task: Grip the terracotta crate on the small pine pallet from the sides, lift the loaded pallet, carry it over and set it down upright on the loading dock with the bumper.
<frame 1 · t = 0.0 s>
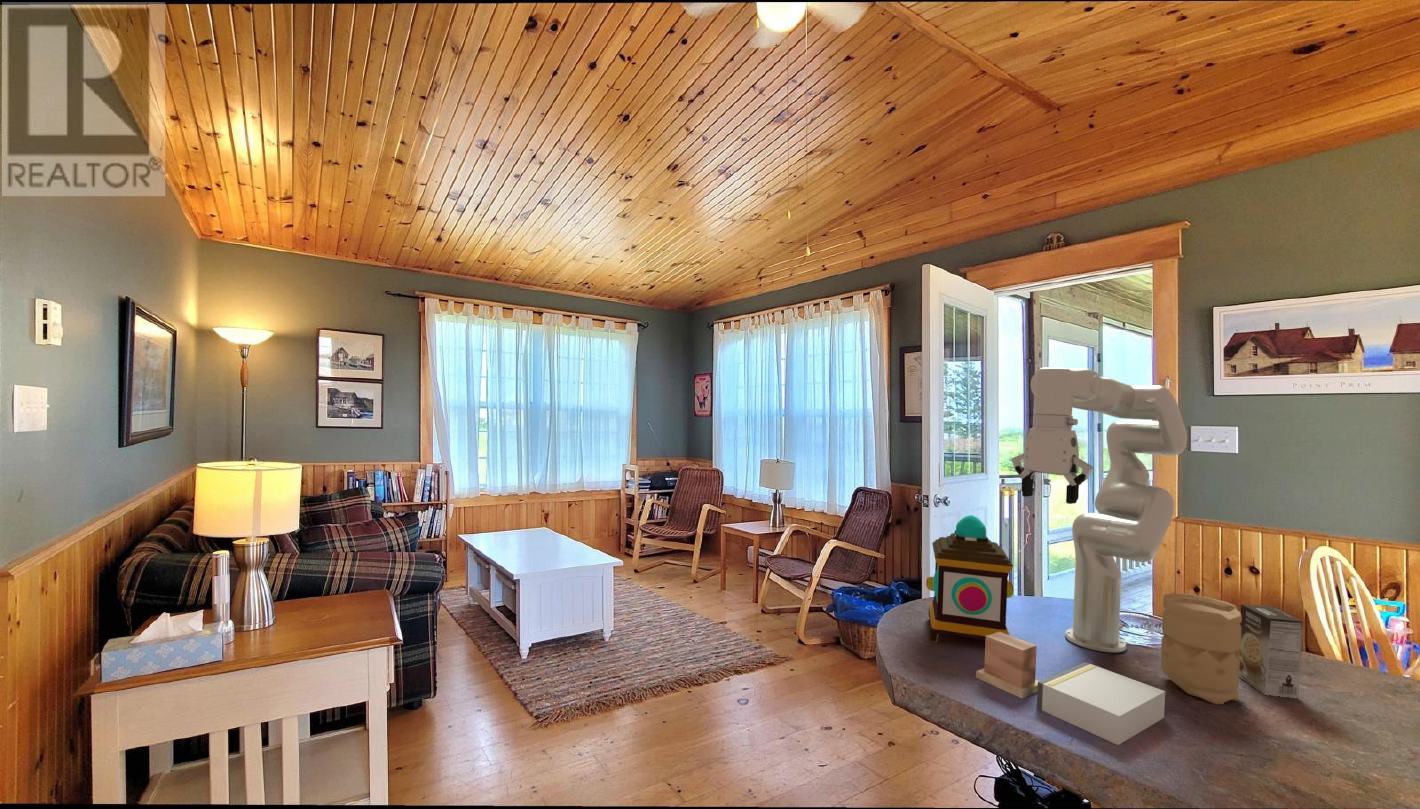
hand: (1048, 499, 134), 37 cm above the counter, tool pointing down, fingers open, 9 cm apart
loaded pallet: (1009, 683, 125), on the counter
dock: (1102, 713, 113), on the counter
coffee box: (1267, 688, 127), on the counter
decorative lantern: (966, 636, 149), on the counter
container: (1197, 690, 125), on the counter
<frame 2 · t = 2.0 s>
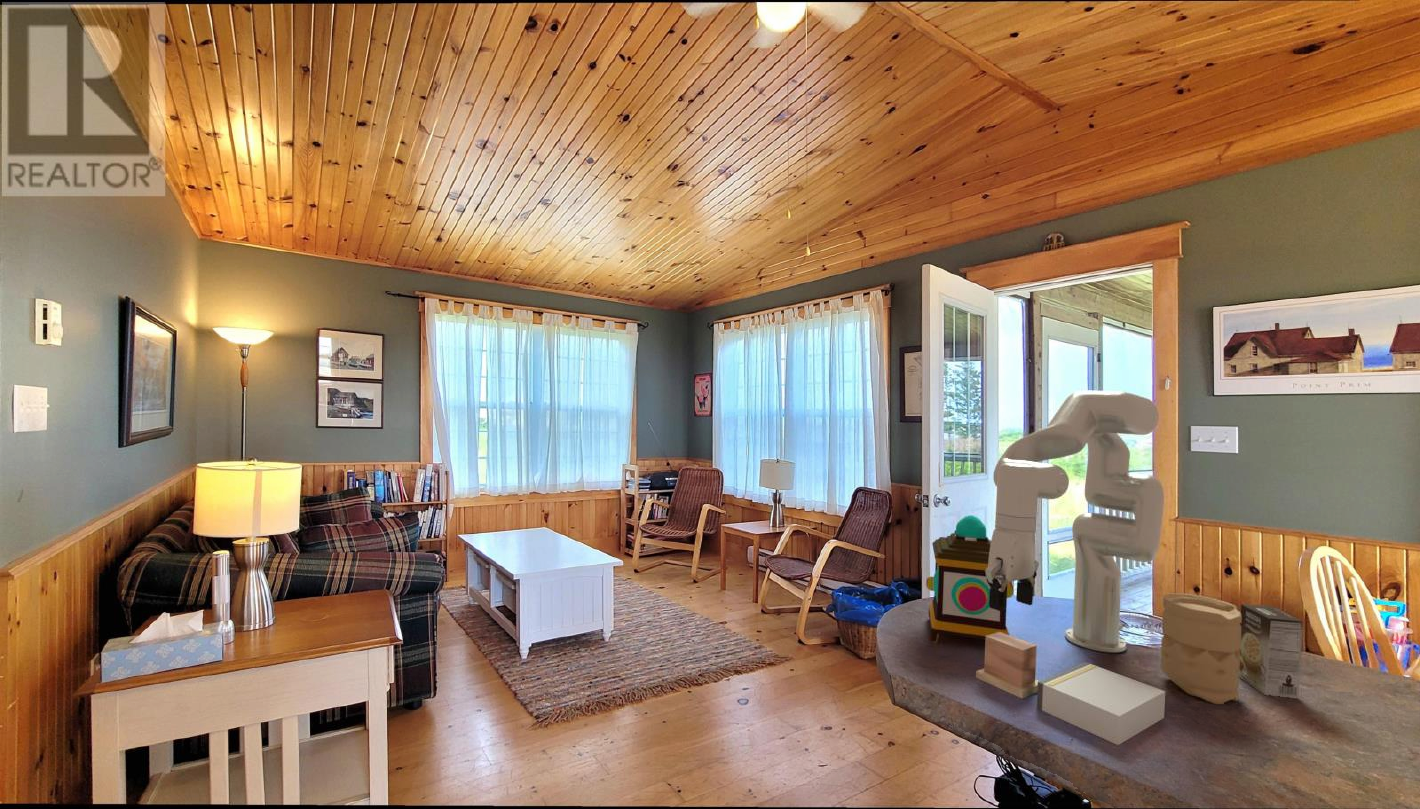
hand: (1010, 606, 124), 16 cm above the counter, tool pointing down, fingers open, 9 cm apart
nothing on the counter moved.
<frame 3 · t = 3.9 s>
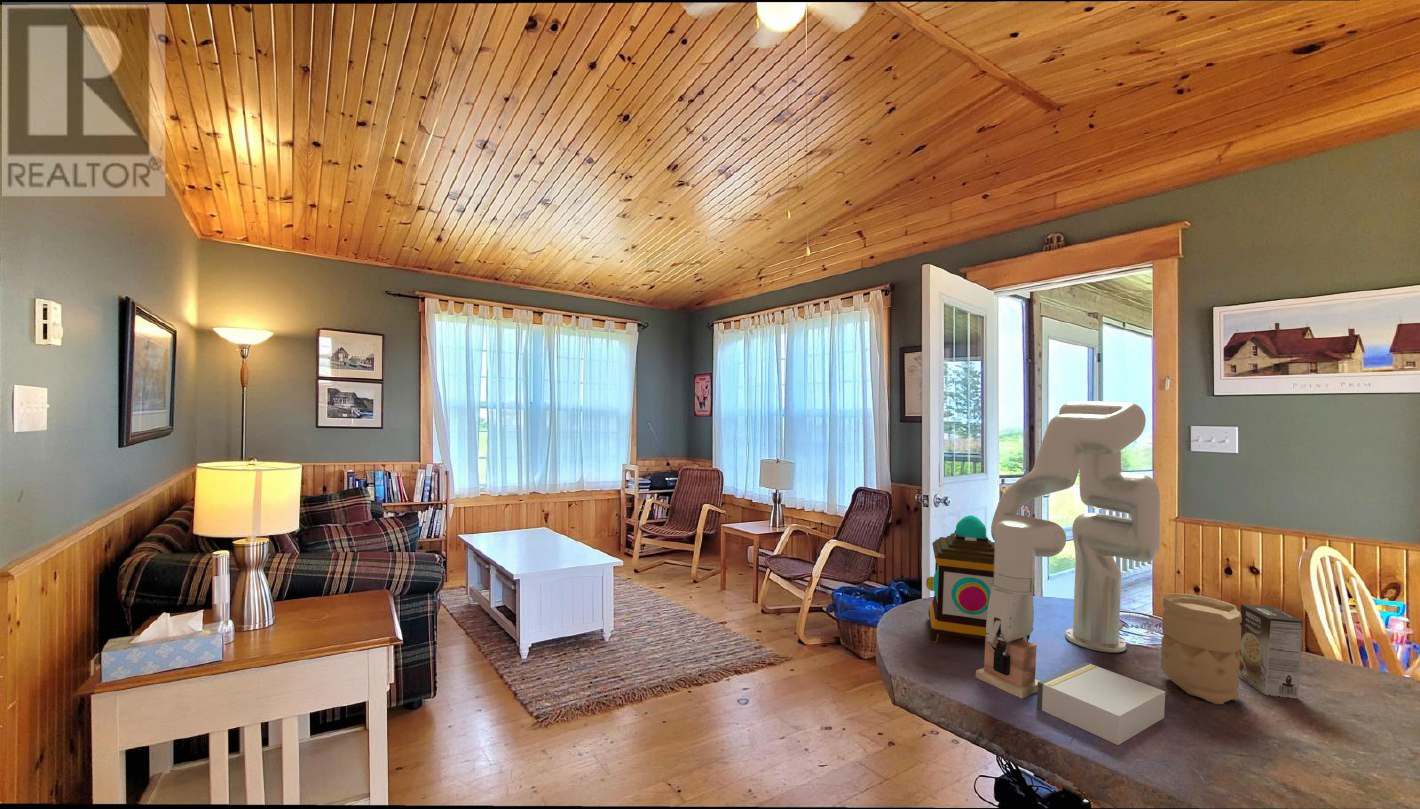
hand: (1009, 668, 124), 3 cm above the counter, tool pointing down, fingers closed on loaded pallet, 5 cm apart
loaded pallet: (1008, 683, 124), on the counter, touching gripper
everything else where it was.
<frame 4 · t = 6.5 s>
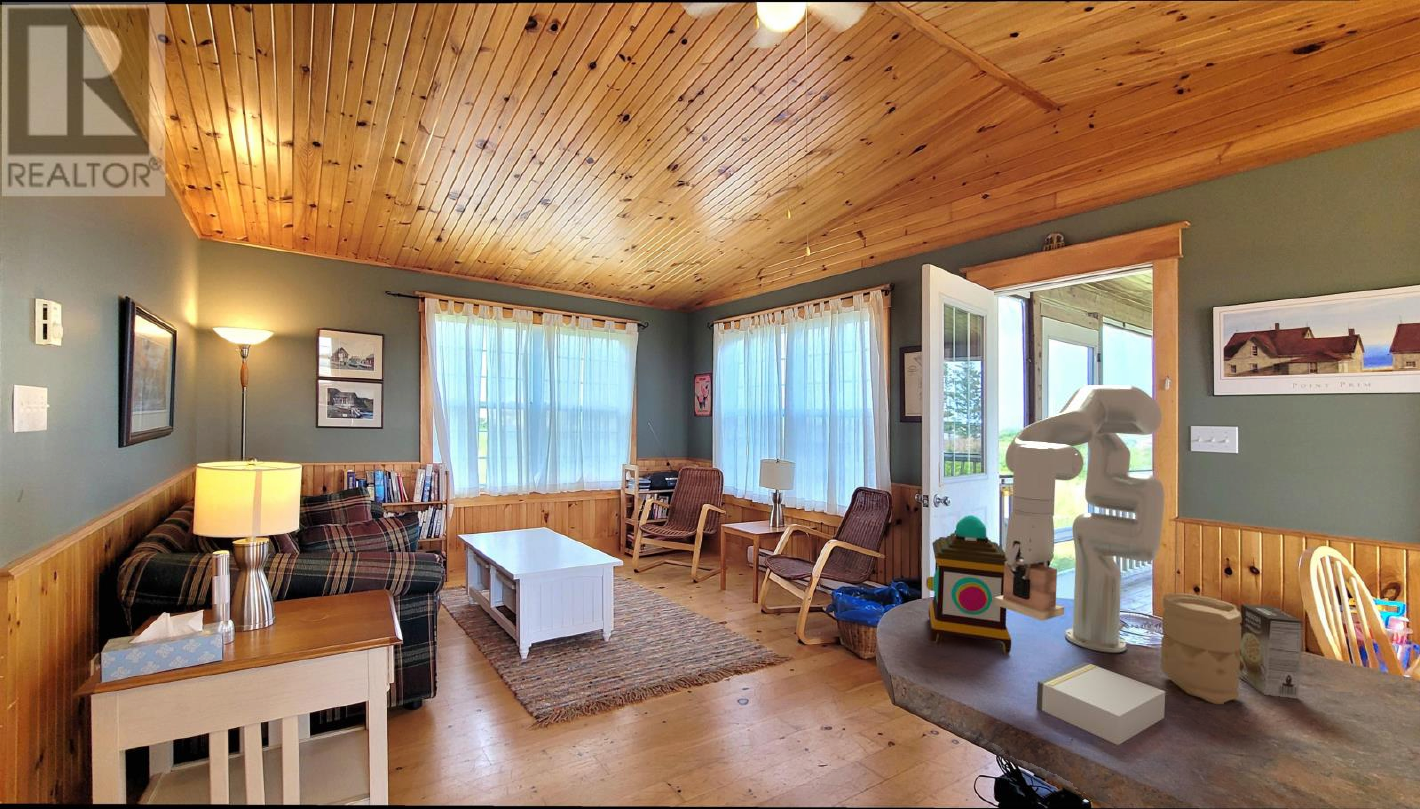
hand: (1029, 594, 122), 19 cm above the counter, tool pointing down, fingers closed on loaded pallet, 5 cm apart
loaded pallet: (1028, 609, 122), point 16 cm above the counter, touching gripper
everything else where it was.
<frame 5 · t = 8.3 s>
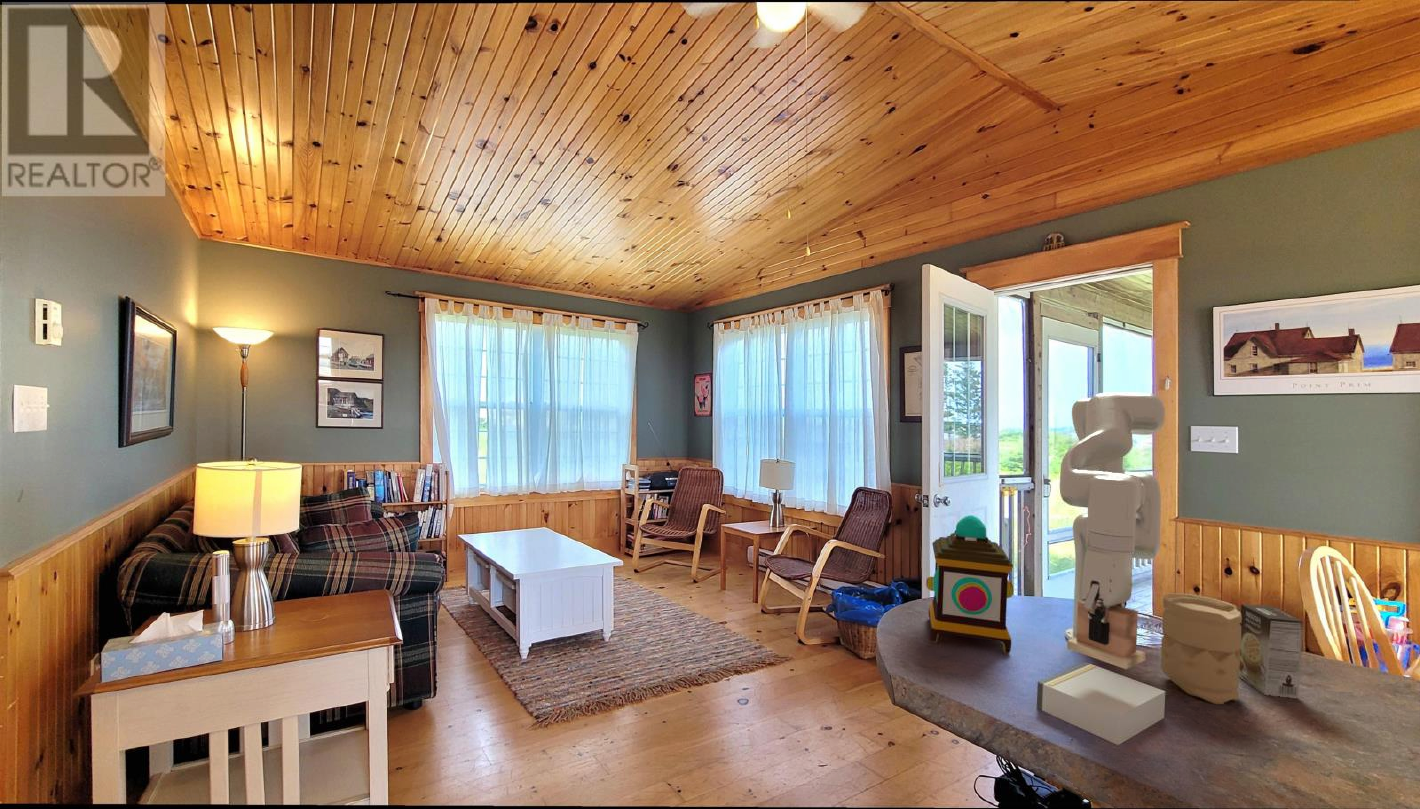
hand: (1106, 638, 113), 14 cm above the counter, tool pointing down, fingers closed on loaded pallet, 5 cm apart
loaded pallet: (1105, 654, 113), point 11 cm above the counter, touching gripper
everything else where it was.
when the fingers open (9 cm above the counter, at t = 9.6 s): loaded pallet drops 1 cm, resting on dock.
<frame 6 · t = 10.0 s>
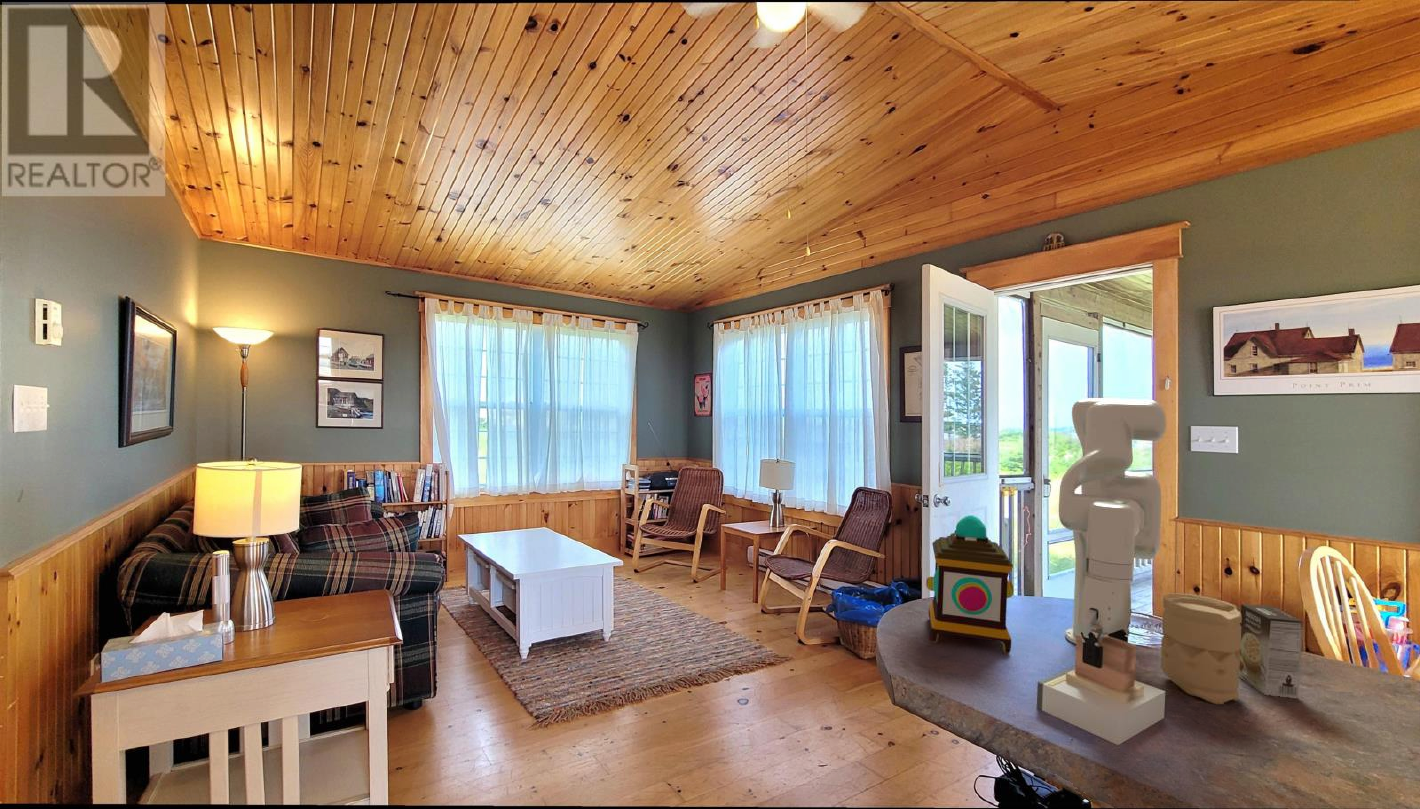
hand: (1105, 659, 113), 10 cm above the counter, tool pointing down, fingers open, 9 cm apart
loaded pallet: (1103, 687, 113), point 5 cm above the counter, touching dock
everything else where it was.
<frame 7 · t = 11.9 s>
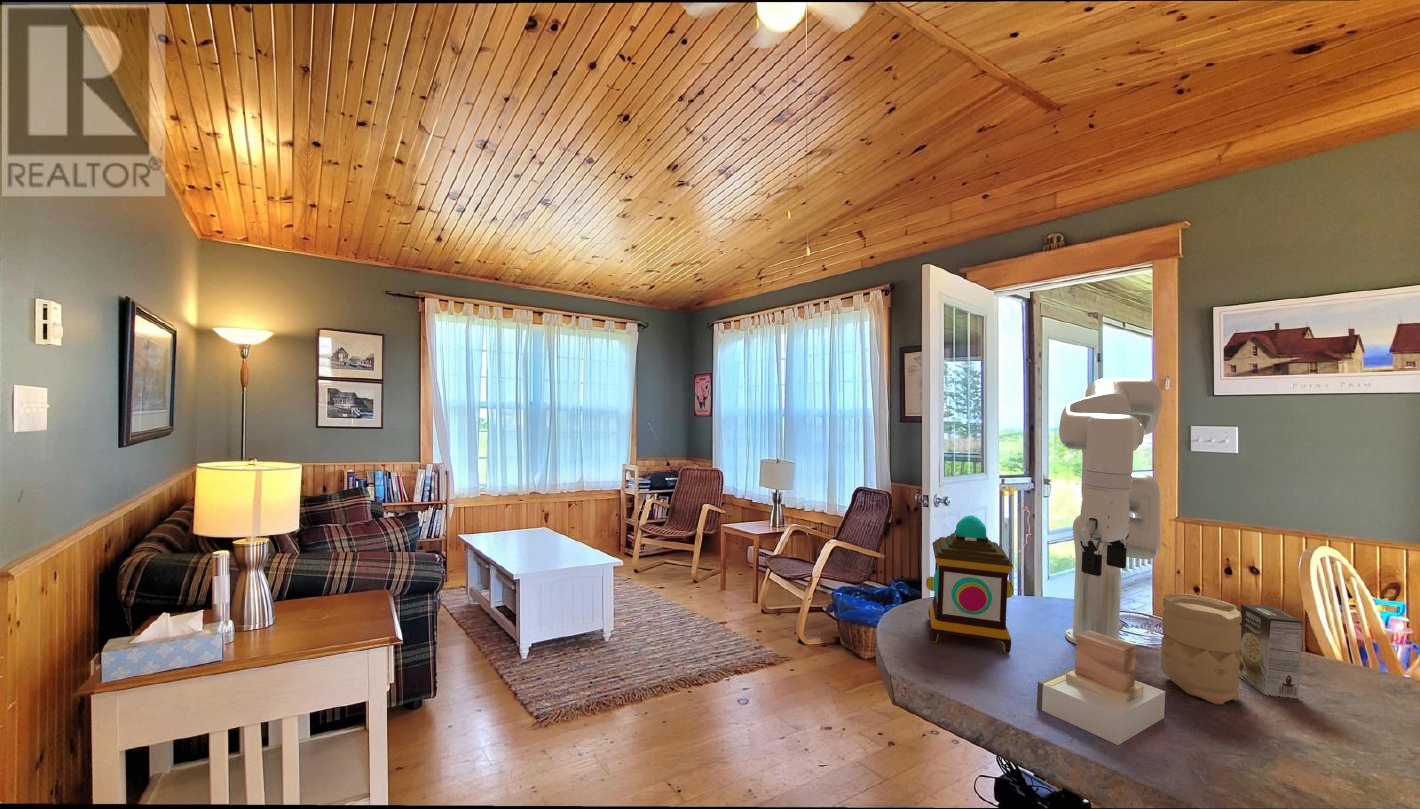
hand: (1103, 570, 115), 27 cm above the counter, tool pointing down, fingers open, 9 cm apart
nothing on the counter moved.
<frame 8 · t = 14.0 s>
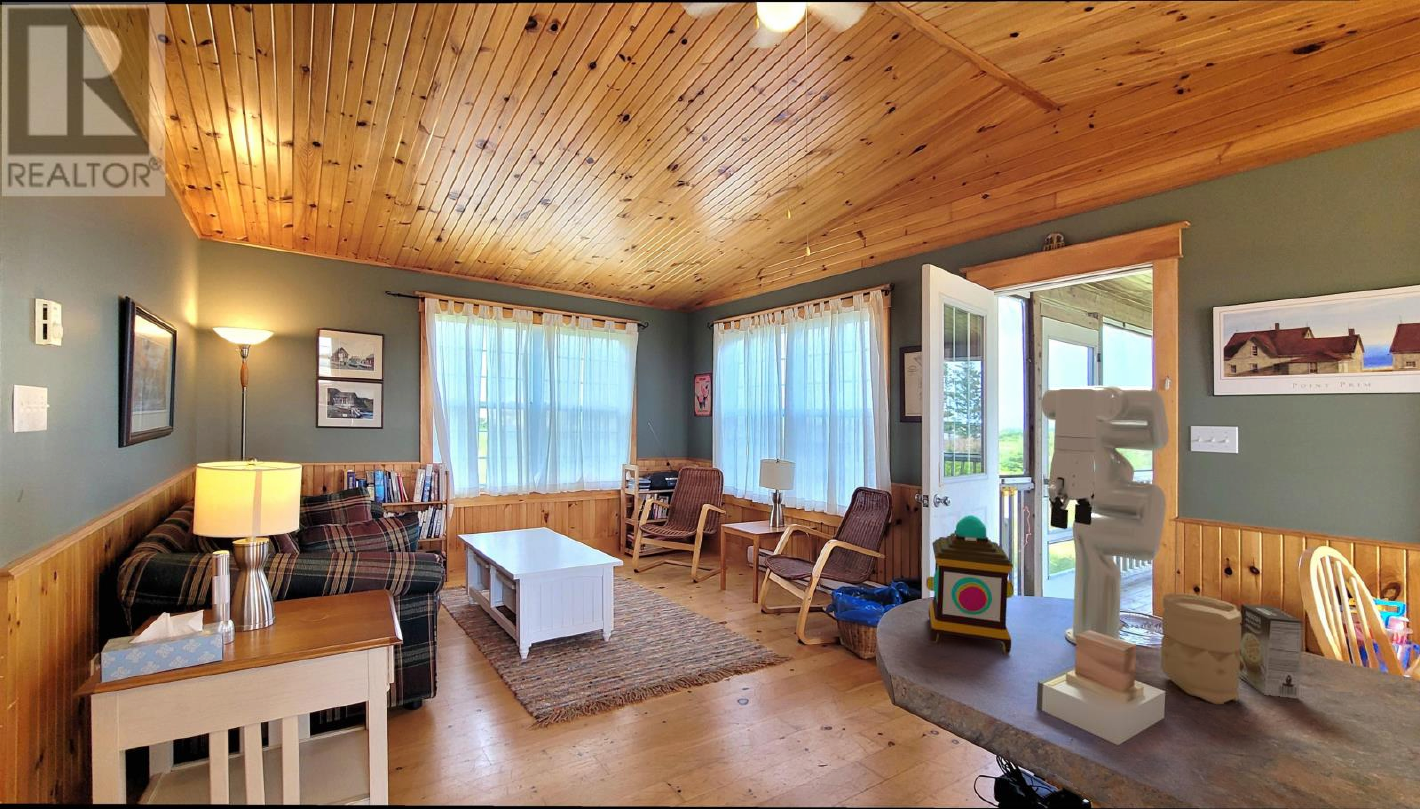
hand: (1071, 525, 128), 32 cm above the counter, tool pointing down, fingers open, 9 cm apart
nothing on the counter moved.
at the end: loaded pallet inside the target area on the dock (0.1 cm from its centre), point 5.0 cm above the dock's base; loaded pallet tilted 0°; the gripper is holding nothing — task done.
